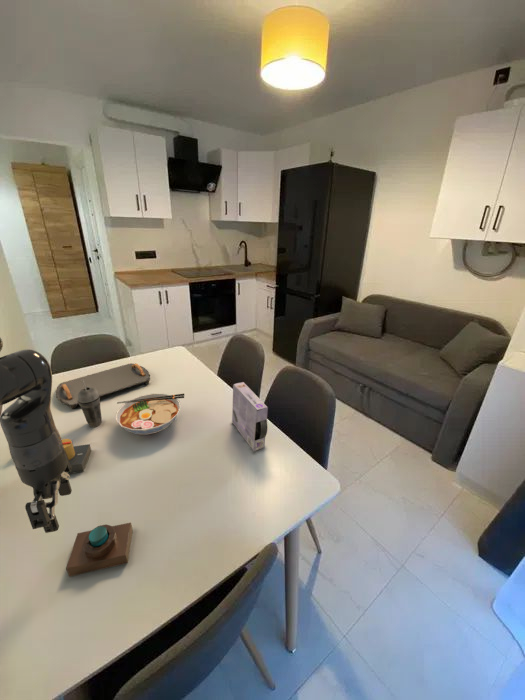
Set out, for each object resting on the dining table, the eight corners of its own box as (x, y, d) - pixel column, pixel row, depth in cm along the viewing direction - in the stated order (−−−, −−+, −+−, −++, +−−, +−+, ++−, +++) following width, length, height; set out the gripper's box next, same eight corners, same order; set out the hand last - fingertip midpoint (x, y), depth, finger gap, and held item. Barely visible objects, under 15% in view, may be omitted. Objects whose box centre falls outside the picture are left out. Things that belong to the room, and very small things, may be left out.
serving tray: (138, 365, 155) (136, 355, 153) (157, 382, 140) (155, 371, 138) (52, 391, 131) (48, 379, 128) (64, 414, 116) (60, 401, 113)
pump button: (88, 549, 65) (86, 543, 64) (92, 533, 68) (91, 527, 67) (106, 545, 66) (104, 539, 65) (109, 530, 69) (108, 524, 68)
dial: (54, 463, 89) (50, 449, 87) (60, 452, 93) (56, 439, 91) (72, 460, 90) (68, 447, 88) (77, 449, 94) (73, 436, 92)
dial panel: (43, 477, 88) (40, 469, 86) (54, 456, 96) (52, 448, 94) (83, 471, 90) (81, 463, 89) (91, 450, 98) (89, 443, 97)
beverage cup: (108, 416, 115) (98, 372, 107) (102, 428, 109) (91, 382, 100) (88, 418, 114) (76, 373, 106) (81, 430, 107) (68, 384, 99)
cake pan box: (267, 449, 101) (269, 407, 94) (255, 454, 99) (256, 411, 92) (242, 418, 116) (242, 380, 109) (231, 422, 114) (230, 383, 107)
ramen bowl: (108, 451, 98) (103, 431, 95) (123, 411, 119) (120, 394, 115) (184, 442, 103) (182, 423, 100) (186, 405, 124) (184, 389, 120)
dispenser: (69, 576, 64) (63, 562, 62) (80, 541, 71) (75, 527, 69) (127, 563, 67) (124, 549, 65) (132, 530, 74) (129, 516, 72)
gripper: (31, 430, 60) (51, 487, 66) (-5, 487, 47) (24, 549, 54) (72, 425, 62) (88, 480, 68) (48, 478, 49) (69, 539, 56)
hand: (59, 511), depth 61 cm, fingers open, 8 cm apart
